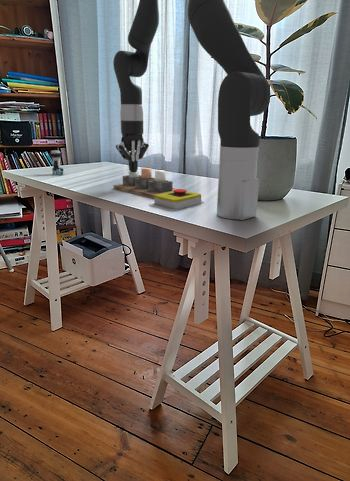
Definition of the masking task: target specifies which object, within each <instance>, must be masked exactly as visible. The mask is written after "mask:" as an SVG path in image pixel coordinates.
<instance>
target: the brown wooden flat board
mask: <svg viewBox="0 0 350 481" xmlns="http://www.w3.org/2000/svg"><path fill="white" fill-rule="evenodd" d="M173 184H174V183H173V181H172V180H167V179H166V182H162V183H158V182H155V177H152V179H149V180H143V179H141V174H139V177H129V174H127V175H122V183H120V184H119V183H118V184H113V189H114V190H119V191H122V192H126V193H131V194H134V195H138V196H142V197H146V198H150V199H153V200H155V195H156V194H162V193H167V192H172V191H173V190H175V189H176V188H175V187H173Z"/></svg>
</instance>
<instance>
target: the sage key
mask: <svg viewBox="0 0 350 481" xmlns="http://www.w3.org/2000/svg"><path fill="white" fill-rule="evenodd" d="M139 173H140V172H139V171H137V172H130V171H128V175H129V177H139V175H140V174H139Z"/></svg>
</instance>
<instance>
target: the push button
mask: <svg viewBox="0 0 350 481" xmlns="http://www.w3.org/2000/svg"><path fill="white" fill-rule="evenodd" d="M48 154H49V157H50V158H51V159H52V165H53V166H52V168H51V171H52V175H53V176H55V175H56V176H63V175H64V168H62V166H61V158H62V157H63V152H61V151H60V150H51V151H50V152H49V153H48Z"/></svg>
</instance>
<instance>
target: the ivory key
mask: <svg viewBox="0 0 350 481" xmlns="http://www.w3.org/2000/svg"><path fill="white" fill-rule="evenodd" d="M166 173H167V172H166V170H163V169H162V170H161V169H159V170H154V178H155V182H158V183H162V182H166V180H167V179H166V176H167V174H166Z"/></svg>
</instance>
